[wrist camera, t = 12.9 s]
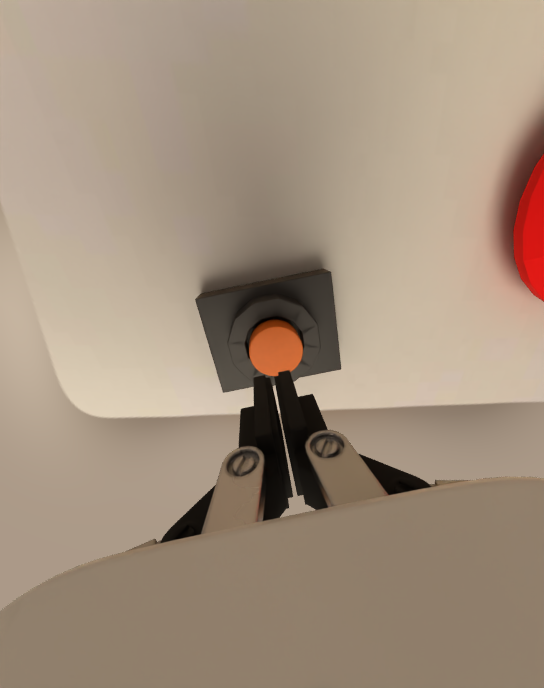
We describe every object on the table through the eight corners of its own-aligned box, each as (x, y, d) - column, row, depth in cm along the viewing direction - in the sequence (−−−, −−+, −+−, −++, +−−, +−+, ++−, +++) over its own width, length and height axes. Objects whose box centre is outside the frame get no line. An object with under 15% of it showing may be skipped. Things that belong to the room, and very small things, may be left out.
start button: (255, 369, 20) (255, 381, 18) (244, 324, 19) (243, 332, 17) (302, 360, 20) (306, 370, 18) (295, 314, 19) (298, 321, 17)
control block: (225, 380, 24) (220, 405, 20) (200, 293, 21) (189, 304, 17) (333, 358, 24) (348, 380, 20) (323, 268, 21) (338, 274, 17)
